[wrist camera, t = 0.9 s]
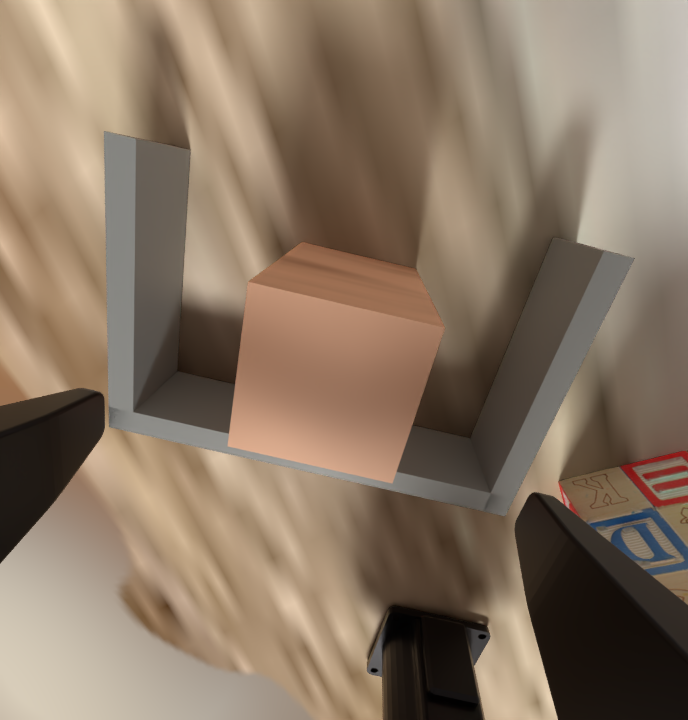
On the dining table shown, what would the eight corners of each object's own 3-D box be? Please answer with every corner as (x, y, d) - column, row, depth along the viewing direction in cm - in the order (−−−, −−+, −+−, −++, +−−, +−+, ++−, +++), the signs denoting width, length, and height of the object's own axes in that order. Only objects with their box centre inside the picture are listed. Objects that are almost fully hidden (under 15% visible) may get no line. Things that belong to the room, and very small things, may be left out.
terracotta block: (386, 371, 19) (392, 483, 12) (283, 348, 19) (227, 446, 12) (415, 268, 17) (445, 327, 10) (302, 241, 17) (248, 281, 10)
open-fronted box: (482, 458, 21) (505, 516, 17) (156, 384, 21) (109, 427, 17) (576, 242, 16) (634, 258, 13) (165, 144, 16) (104, 131, 12)
